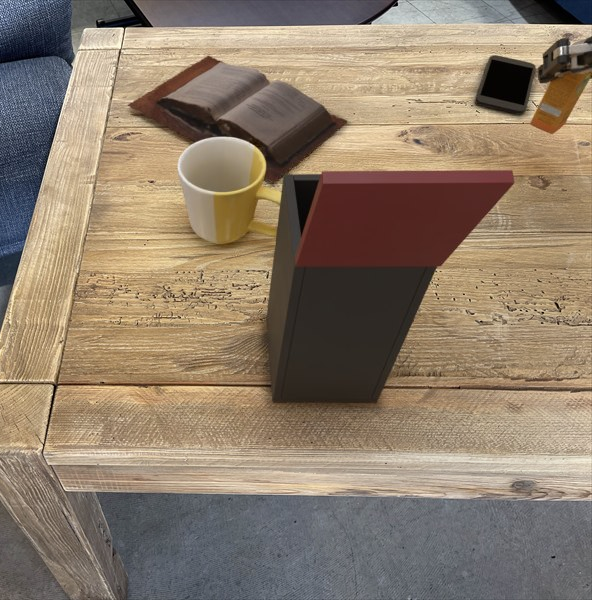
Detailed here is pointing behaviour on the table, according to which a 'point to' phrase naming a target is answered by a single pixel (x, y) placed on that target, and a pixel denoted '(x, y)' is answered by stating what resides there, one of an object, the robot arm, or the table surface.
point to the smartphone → (506, 84)
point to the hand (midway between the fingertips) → (562, 73)
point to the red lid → (396, 216)
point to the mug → (224, 188)
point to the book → (241, 111)
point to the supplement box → (559, 101)
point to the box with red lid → (333, 315)
